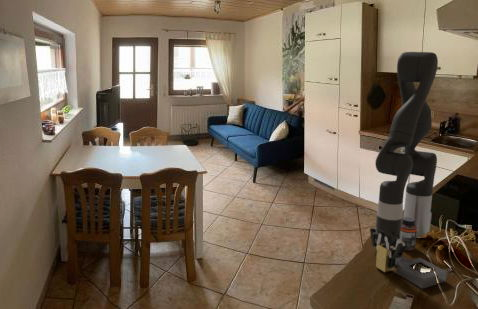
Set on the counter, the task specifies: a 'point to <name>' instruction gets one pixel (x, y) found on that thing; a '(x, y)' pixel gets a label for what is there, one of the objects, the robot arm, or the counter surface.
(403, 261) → the grey square paddle
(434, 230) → the counter surface
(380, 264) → the peg
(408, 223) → the supplement bottle
